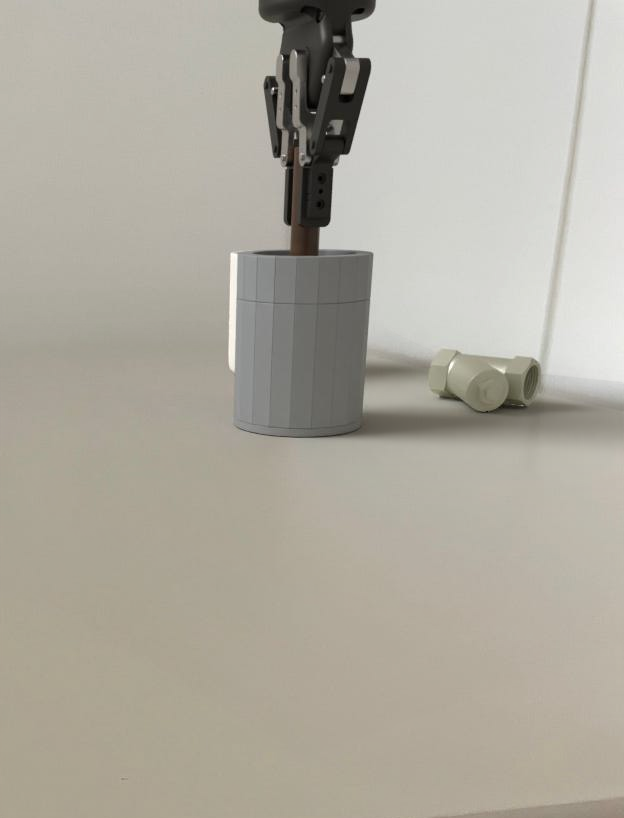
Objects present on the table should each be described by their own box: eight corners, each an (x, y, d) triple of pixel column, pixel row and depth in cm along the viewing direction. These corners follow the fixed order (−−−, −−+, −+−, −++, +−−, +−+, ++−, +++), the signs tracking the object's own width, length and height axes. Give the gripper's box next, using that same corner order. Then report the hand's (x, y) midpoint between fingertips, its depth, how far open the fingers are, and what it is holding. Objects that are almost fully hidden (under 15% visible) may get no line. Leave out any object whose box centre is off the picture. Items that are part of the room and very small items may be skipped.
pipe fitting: (499, 422, 82) (538, 402, 86) (504, 370, 80) (543, 353, 84) (406, 409, 87) (447, 391, 91) (408, 360, 85) (450, 344, 89)
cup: (331, 408, 85) (340, 247, 80) (382, 432, 77) (396, 255, 72) (217, 414, 83) (220, 250, 78) (257, 440, 75) (263, 258, 70)
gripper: (425, -90, 62) (400, 229, 69) (333, -44, 75) (319, 222, 82) (304, -96, 61) (290, 231, 68) (230, -48, 73) (224, 224, 80)
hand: (306, 225), depth 75 cm, fingers closed
